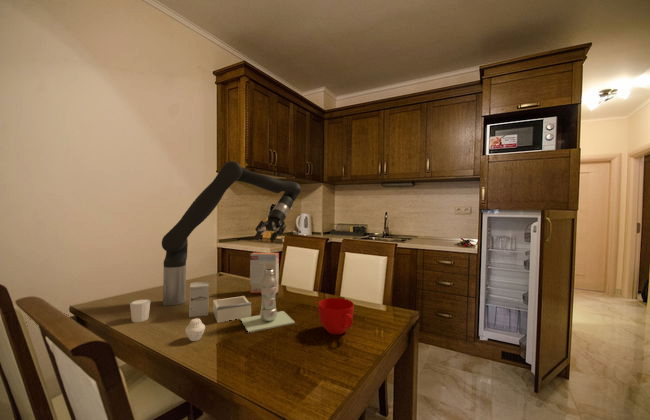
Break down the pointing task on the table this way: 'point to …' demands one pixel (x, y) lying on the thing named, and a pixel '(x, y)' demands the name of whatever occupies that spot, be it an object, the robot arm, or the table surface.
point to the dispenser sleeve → (231, 308)
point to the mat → (266, 322)
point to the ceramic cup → (336, 314)
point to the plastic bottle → (268, 296)
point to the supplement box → (198, 299)
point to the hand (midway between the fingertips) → (263, 239)
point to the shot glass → (140, 310)
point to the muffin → (195, 329)
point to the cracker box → (262, 269)
